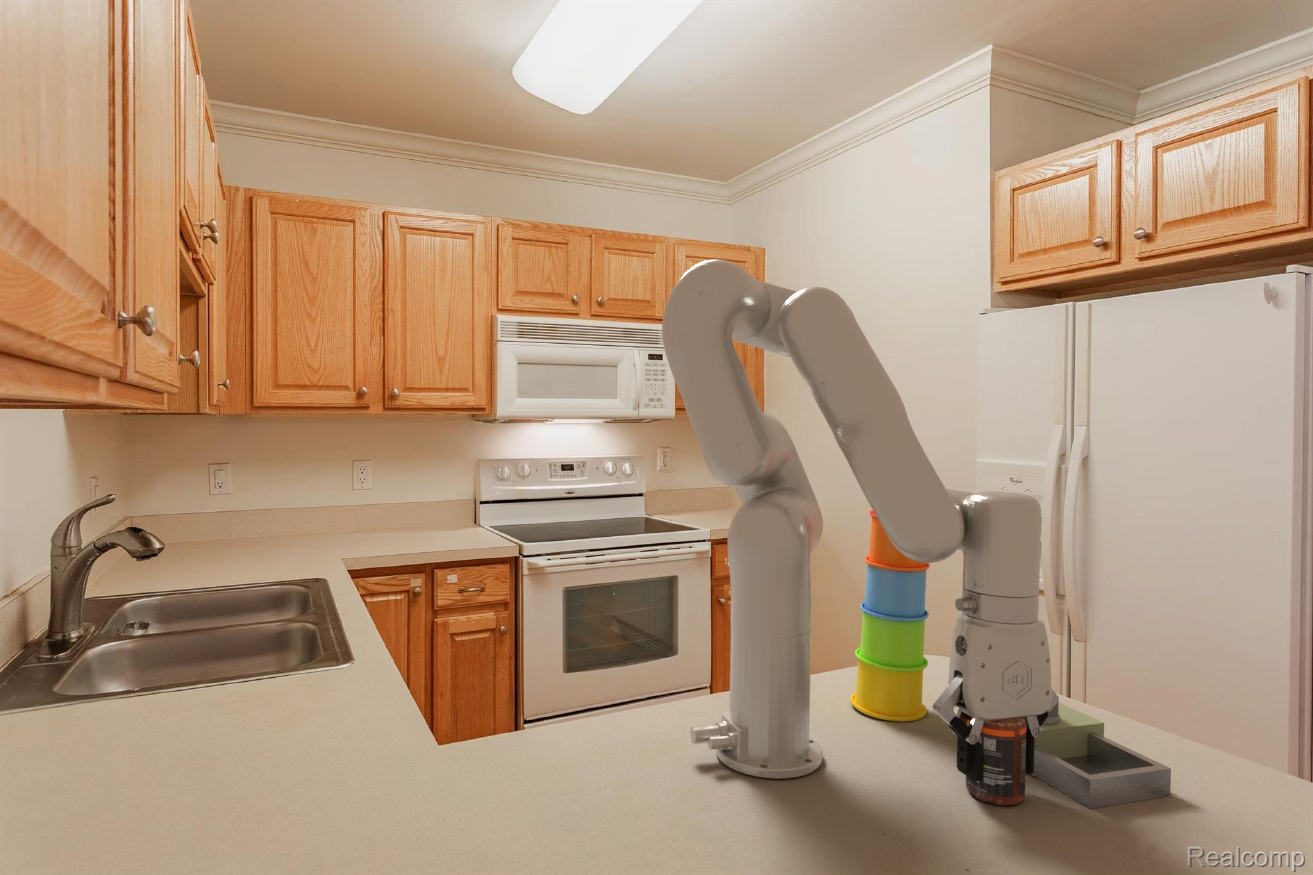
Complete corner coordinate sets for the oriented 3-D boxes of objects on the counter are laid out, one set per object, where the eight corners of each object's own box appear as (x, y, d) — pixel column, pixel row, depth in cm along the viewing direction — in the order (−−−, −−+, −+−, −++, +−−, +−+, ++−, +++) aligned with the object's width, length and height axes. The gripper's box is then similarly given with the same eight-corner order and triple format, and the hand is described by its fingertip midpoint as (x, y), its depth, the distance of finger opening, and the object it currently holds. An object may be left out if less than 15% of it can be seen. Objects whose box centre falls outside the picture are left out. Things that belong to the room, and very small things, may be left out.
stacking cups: (918, 697, 111) (923, 462, 110) (933, 725, 101) (939, 466, 100) (847, 693, 113) (851, 461, 112) (854, 719, 102) (859, 464, 102)
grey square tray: (1089, 808, 79) (1090, 780, 79) (1019, 766, 89) (1019, 741, 89) (1170, 795, 82) (1170, 768, 82) (1093, 756, 92) (1094, 732, 92)
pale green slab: (1008, 768, 88) (1009, 709, 88) (962, 740, 96) (963, 686, 96) (1103, 755, 92) (1104, 699, 92) (1052, 729, 100) (1053, 677, 100)
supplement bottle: (1012, 783, 85) (1015, 682, 84) (1034, 810, 79) (1037, 702, 78) (957, 779, 85) (960, 679, 85) (974, 805, 79) (977, 699, 79)
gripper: (954, 620, 76) (949, 798, 76) (1092, 611, 80) (1087, 779, 81) (909, 602, 83) (905, 765, 83) (1038, 595, 88) (1033, 749, 88)
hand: (995, 770), depth 82 cm, fingers closed on supplement bottle, 6 cm apart
